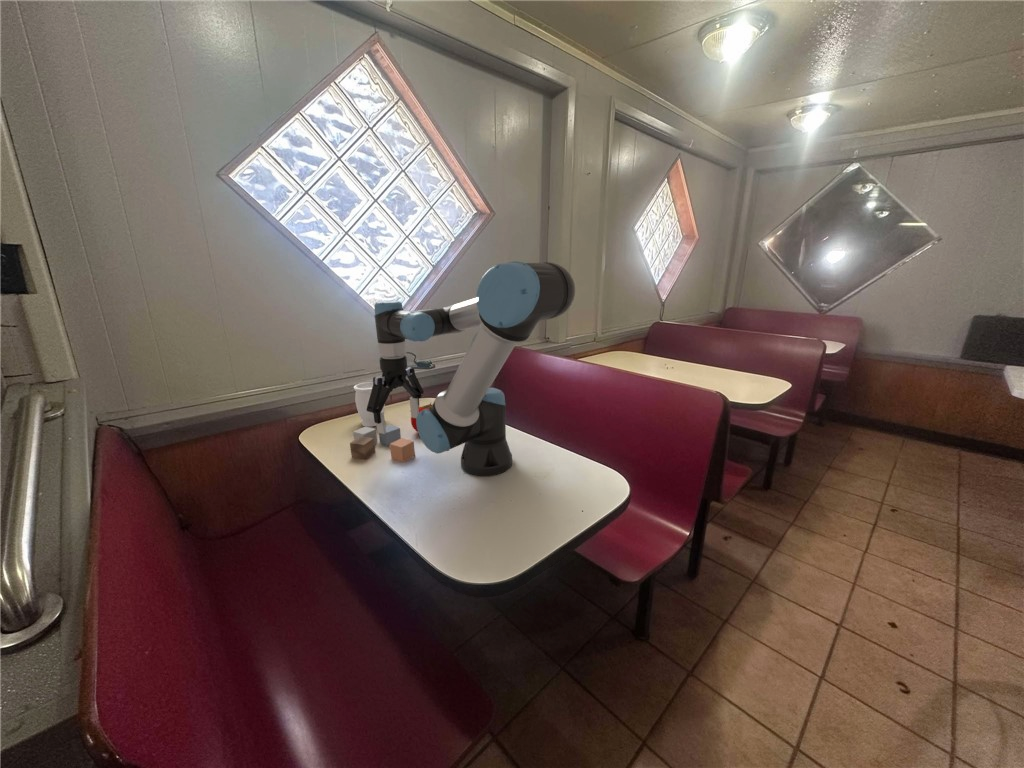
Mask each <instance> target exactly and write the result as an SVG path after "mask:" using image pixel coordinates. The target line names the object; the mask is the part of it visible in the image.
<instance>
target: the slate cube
mask: <svg viewBox="0 0 1024 768" xmlns="http://www.w3.org/2000/svg"><path fill="white" fill-rule="evenodd" d="M385 429H386V433H385V434H382V433H378V438H379V443H380V444H381V445H384V446H386V447H390V444H391V443H393V442H395V441H397V440H399V439H401V438H402V435H401V428H400V427H398V426H397V425H393V424H389V425H385Z"/></svg>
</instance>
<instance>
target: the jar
mask: <svg viewBox="0 0 1024 768" xmlns="http://www.w3.org/2000/svg"><path fill="white" fill-rule="evenodd" d="M372 387H373V381H364V382H359V383H358V384H357V383H356V384H355V385H354V386H353V390H354V391H355V393H354V395H355V397H354V398H355V401H354V402H355V406H356V410H357V412H358V415H359V417H360V420H361V423H360V424H361V426H363V427H365V426H366V427H370V428H373V427H377V424H376V423H375V422H374V414H373V413H372V412H368V411H367V406H368V402H369V398H370V395H371V391H372ZM385 406H386V403H385V404H384V406H383V409H382V412H384V413H386V412H385V410H386V408H385Z"/></svg>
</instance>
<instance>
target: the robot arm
mask: <svg viewBox="0 0 1024 768" xmlns="http://www.w3.org/2000/svg"><path fill="white" fill-rule="evenodd" d="M475 295H476V297H473V298H471V299H467V300H464V301H461V302H458V303H455V304H452V305H448V306H444V307H438V308H427V309H425V308H424V309H417V310H416V309H415V310H407V309H406V310H404V307H403V303H402V302H401V301H399V300H380V301H377V302H375V303H374V305H373V307H374V315H373V316H374V320H375V321H374V323H375V330H376V332H375V333H376V339H377V348H378V349H377V350H378V355H379V356H380V357H379V358H378V359H379V366H380V370H381V373H382V375H381V376H374V377H373V378H372V382H373V387H372V391H371V395H370V398H369V402H368V406H367V411H368V412H372V413H373V414H374V422H375V423H376V424H377V426H376V433H378V434H379V433H382V434H385V433H386V429H385V426H386V422H385V421H386V420H385V412H382V409H383V406H384V404H385V405H386V402H387V400H388V398H389V396H390V394H391V392H393V390H395V389H398V388H401V387H402V388H404V390H405V391H406V392H408V394H409V395H410V396H411V397H409V406H410V418H411V417H413V418H417V419H416V425H417V430H418V432H417V433H418V435H419V438H420V440H421V441H422V443H423V444H424V446H425V447H426V449H428V450H429V451H430V452H432V453H435V454H442V453H445V452H449V451H451V450H452V449H455V448H456V447H459V446H460V445H463V444H464V446H463V449H462V452H461V455H460V465H461V466H460V467H461V469H462V470H463V471H464V472H466V473H468V474H470V475H473V476H474V475H475V476H481V477H486V476H488V477H489V476H495V475H500V474H502V473H504V472H506V471H508V470H510V468H512V465H513V454H512V452H511V449H510V446H509V443H508V441H507V434H506V433H507V432H506V431H507V430H506V424H507V423H506V421H507V420H506V416H507V415H506V405H507V403H506V399H505V393H504V392H503V390H501V389H498V388H496V387H491V386H492V384H493V382H494V381H495V379H496V378H497V377H498V375H499V374H500V373H499V372H500V371H501V369H502V368H503V366H504V364H505V363H506V361H507V360H508V358H509V356H510V355H511V353H512V351H514V348H515V347H516V345H517V344H519V343H524V342H526V341H528V338H529V337H530V335H531V334H533V331H534V330H535V328H536V326H537V325H538V323H539V322H541V321H546V320H551V319H555V318H557V317H560V316H562V315H563V314H566V312H567V311H568V310H569V309H570V308H571V306H572V305H573V302H574V300H575V295H576V285H575V281H574V278H573V277H572V275H571V273H570V272H569V271H568V270H567V268H565V267H564V266H563V265H560V264H558V263H555V262H550V261H549V262H521V261H515V260H514V261H508V262H504V263H499V264H496V265H493V266H492V267H491V268H489V269H488V270H487V271H486V272H485V273H484V274H483V275H482V277H481V279H480V281H479V282H478V285H477V289H476V294H475ZM475 328H477V330H476V332H475V334H474V336H473V338H472V340H471V342H470V344H469V346H468V348H467V350H466V352H465V353H464V356H463V358H462V360H461V362H460V364H459V366H458V367H457V370H456V371H455V373H454V376H453V377H452V380H451V382H450V383H449V385H448V388H447V389H445V390H443V391H440V392H439V394H437V396H436V397H435V399H434V401H433V403H432V404H431V405H432V407H430V408H429V409H424V410H423V411H421V412H419V408H418V407H420V399H421V398H422V396H423V394H424V389H423V388H422V385H421V384H420V381H419V379H418V377H417V375H416V372H415V368H414V367H410V366H408V360H407V359H408V358H407V349H406V348H407V347H406V340H408V341H412V342H426V341H428V340H429V339H431V338H432V337H438V336H442V335H443V336H444V335H449V334H456V333H461V332H464V331H466V330H470V329H475Z"/></svg>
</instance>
